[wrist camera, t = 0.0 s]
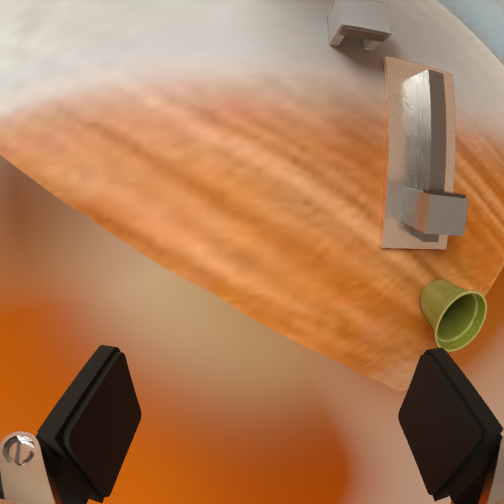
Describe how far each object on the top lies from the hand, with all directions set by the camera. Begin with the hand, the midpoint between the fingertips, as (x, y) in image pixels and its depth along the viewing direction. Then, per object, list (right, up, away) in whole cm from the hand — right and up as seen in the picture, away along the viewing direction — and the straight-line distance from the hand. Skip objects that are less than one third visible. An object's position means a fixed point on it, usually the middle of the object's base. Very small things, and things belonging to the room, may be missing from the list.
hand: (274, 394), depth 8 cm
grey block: (+12, +33, +22) cm, 41 cm away
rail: (+22, +17, +26) cm, 39 cm away
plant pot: (+28, -3, +33) cm, 43 cm away
